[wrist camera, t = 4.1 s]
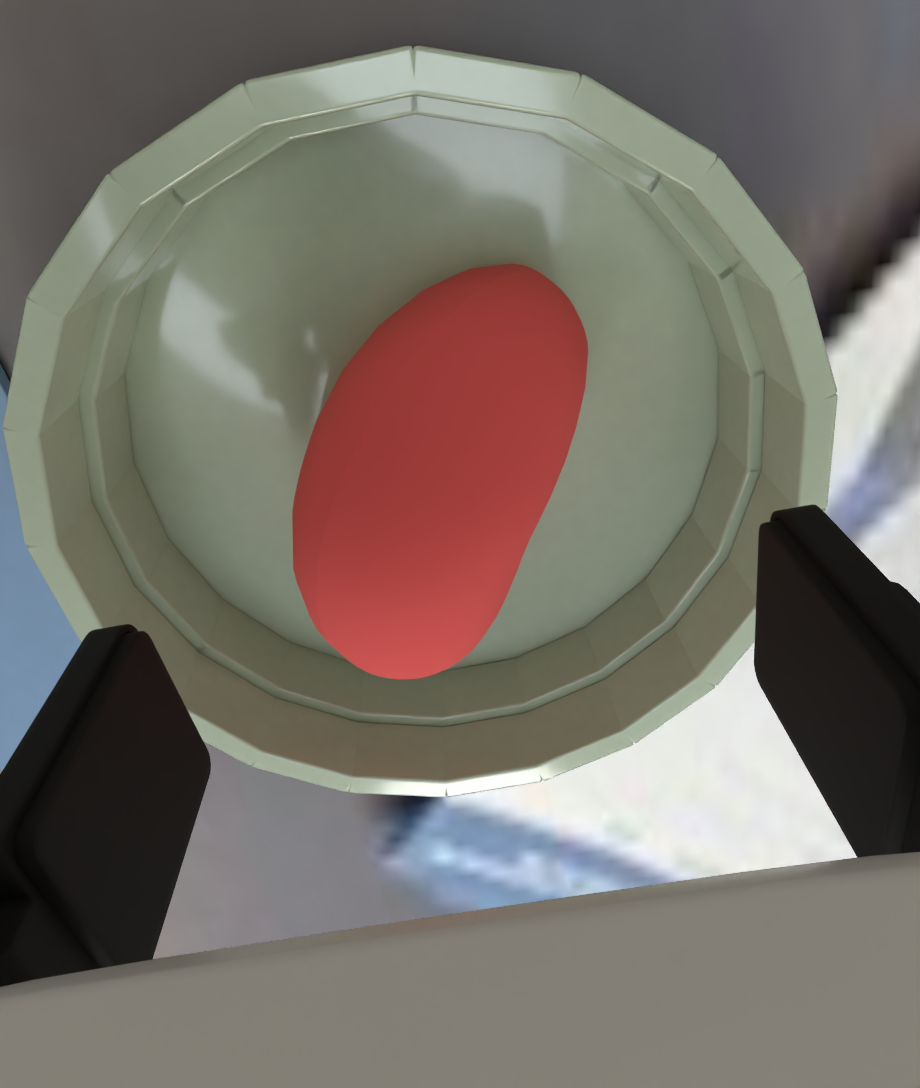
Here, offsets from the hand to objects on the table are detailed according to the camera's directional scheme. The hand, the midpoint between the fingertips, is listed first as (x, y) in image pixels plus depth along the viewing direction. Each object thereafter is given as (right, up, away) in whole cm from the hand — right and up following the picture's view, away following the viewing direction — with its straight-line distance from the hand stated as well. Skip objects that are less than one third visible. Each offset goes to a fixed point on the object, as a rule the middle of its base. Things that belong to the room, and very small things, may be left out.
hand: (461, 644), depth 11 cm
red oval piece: (-1, +4, +6) cm, 7 cm away
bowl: (-1, +4, +6) cm, 7 cm away
